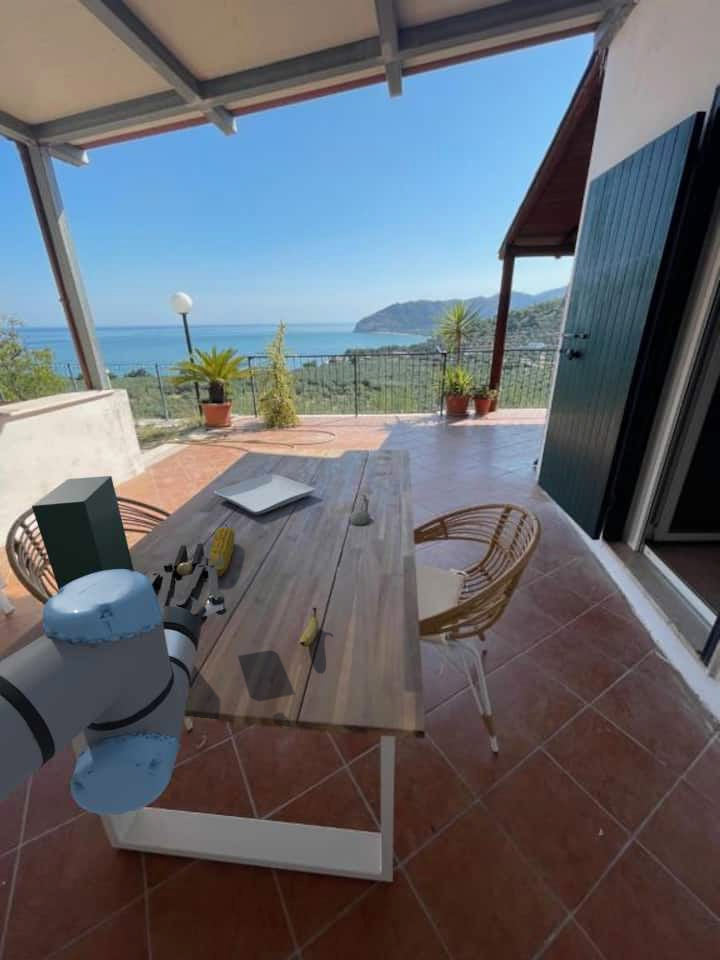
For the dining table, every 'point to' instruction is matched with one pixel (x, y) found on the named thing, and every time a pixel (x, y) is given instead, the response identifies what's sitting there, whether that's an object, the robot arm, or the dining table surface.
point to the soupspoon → (360, 515)
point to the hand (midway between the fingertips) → (192, 551)
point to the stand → (82, 529)
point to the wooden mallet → (187, 567)
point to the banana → (310, 631)
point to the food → (223, 546)
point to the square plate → (264, 493)
